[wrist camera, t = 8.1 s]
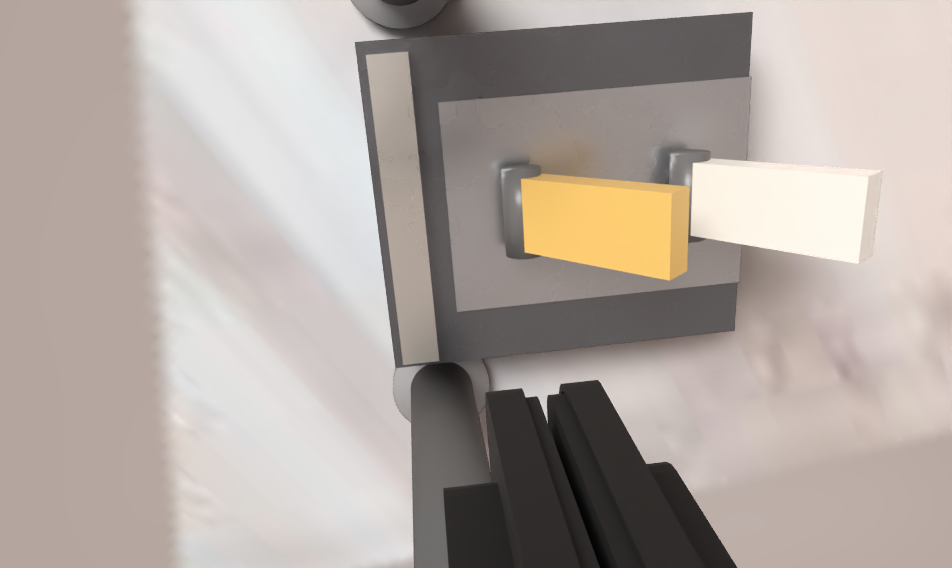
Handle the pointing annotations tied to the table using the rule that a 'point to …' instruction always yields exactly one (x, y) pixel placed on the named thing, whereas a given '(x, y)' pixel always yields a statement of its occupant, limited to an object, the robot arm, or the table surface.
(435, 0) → the post near
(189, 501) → the table surface
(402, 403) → the post far
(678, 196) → the paddle amber
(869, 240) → the paddle white
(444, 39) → the breaker panel
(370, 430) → the table surface
